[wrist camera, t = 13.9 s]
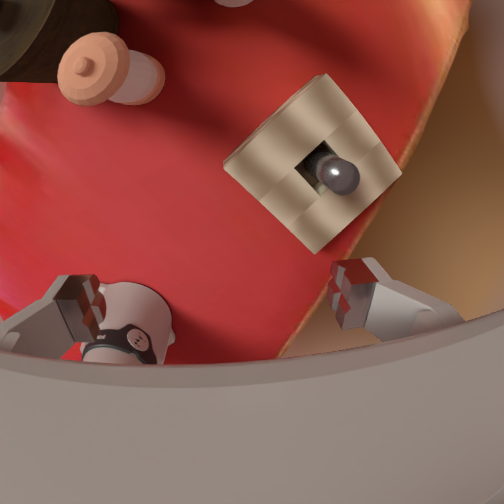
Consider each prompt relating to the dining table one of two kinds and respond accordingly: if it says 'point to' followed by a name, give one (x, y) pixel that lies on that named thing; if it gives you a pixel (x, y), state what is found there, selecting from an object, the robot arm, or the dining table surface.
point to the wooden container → (47, 34)
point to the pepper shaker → (108, 72)
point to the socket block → (294, 152)
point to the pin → (332, 171)
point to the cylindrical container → (233, 2)
